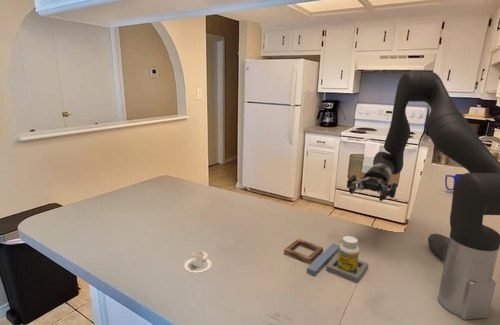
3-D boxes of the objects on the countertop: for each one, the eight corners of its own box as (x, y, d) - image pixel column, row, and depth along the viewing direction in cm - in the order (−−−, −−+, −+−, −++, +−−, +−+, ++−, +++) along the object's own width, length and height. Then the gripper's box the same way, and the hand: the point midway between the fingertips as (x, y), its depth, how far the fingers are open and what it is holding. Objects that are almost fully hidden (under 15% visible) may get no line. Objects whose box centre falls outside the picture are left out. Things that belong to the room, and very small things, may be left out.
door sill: (332, 247, 99) (332, 243, 98) (339, 250, 97) (340, 245, 97) (306, 272, 85) (307, 268, 85) (314, 276, 83) (315, 271, 83)
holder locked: (322, 251, 96) (323, 247, 96) (309, 264, 89) (310, 259, 89) (298, 242, 101) (298, 238, 101) (283, 253, 95) (284, 249, 94)
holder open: (368, 268, 88) (368, 263, 87) (357, 283, 81) (358, 278, 80) (338, 257, 93) (338, 253, 93) (326, 270, 86) (326, 265, 86)
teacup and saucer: (201, 254, 94) (200, 242, 93) (219, 264, 89) (219, 251, 88) (178, 266, 87) (177, 254, 86) (196, 277, 83) (196, 264, 82)
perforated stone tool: (420, 246, 101) (424, 227, 99) (435, 245, 101) (439, 226, 100) (452, 272, 86) (457, 250, 85) (470, 272, 87) (475, 250, 85)
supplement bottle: (358, 267, 88) (362, 237, 86) (355, 277, 83) (358, 245, 81) (340, 262, 90) (342, 233, 88) (335, 271, 86) (338, 240, 84)
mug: (443, 189, 159) (446, 171, 156) (471, 194, 152) (475, 175, 149) (442, 194, 152) (445, 175, 150) (471, 199, 145) (475, 179, 143)
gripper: (358, 162, 105) (343, 177, 92) (402, 170, 97) (393, 188, 85) (355, 182, 107) (341, 199, 95) (399, 191, 100) (389, 212, 87)
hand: (365, 194), depth 90 cm, fingers open, 8 cm apart
